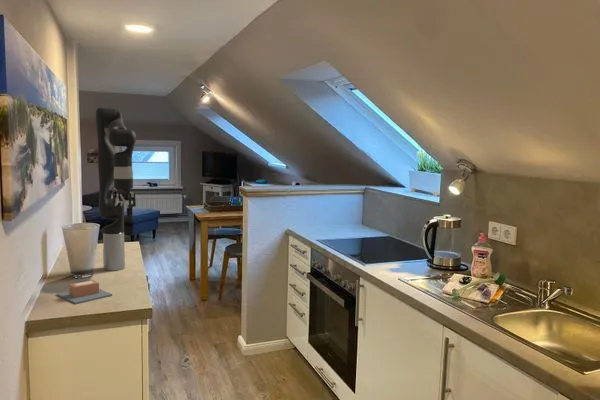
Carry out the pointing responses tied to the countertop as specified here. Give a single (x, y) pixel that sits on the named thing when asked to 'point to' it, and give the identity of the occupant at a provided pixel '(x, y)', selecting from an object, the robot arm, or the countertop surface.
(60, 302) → the countertop surface
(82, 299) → the mat
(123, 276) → the countertop surface
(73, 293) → the card box
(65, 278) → the countertop surface
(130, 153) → the robot arm
